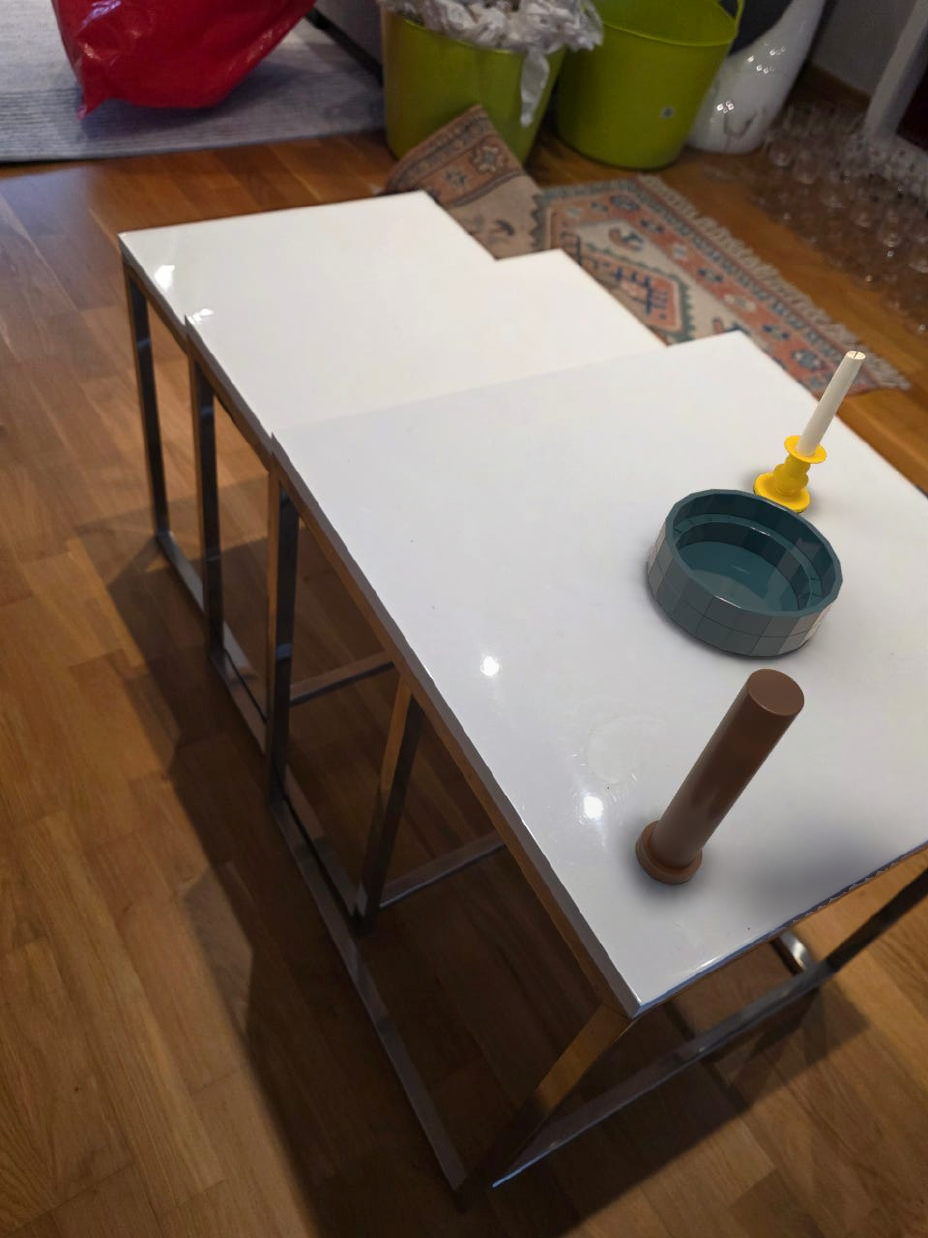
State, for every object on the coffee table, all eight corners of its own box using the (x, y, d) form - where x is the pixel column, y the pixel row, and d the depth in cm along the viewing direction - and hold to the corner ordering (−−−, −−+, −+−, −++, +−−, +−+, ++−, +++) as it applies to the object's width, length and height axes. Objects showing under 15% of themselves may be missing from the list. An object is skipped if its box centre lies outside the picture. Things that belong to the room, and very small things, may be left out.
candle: (744, 494, 88) (819, 345, 77) (765, 469, 91) (840, 323, 80) (796, 522, 86) (880, 375, 75) (815, 495, 90) (899, 350, 78)
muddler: (709, 871, 60) (830, 711, 48) (658, 893, 59) (770, 733, 46) (674, 819, 63) (781, 652, 50) (624, 838, 61) (722, 671, 49)
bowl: (849, 635, 77) (879, 593, 74) (712, 679, 72) (738, 635, 68) (744, 520, 85) (766, 476, 82) (613, 551, 79) (631, 505, 76)
